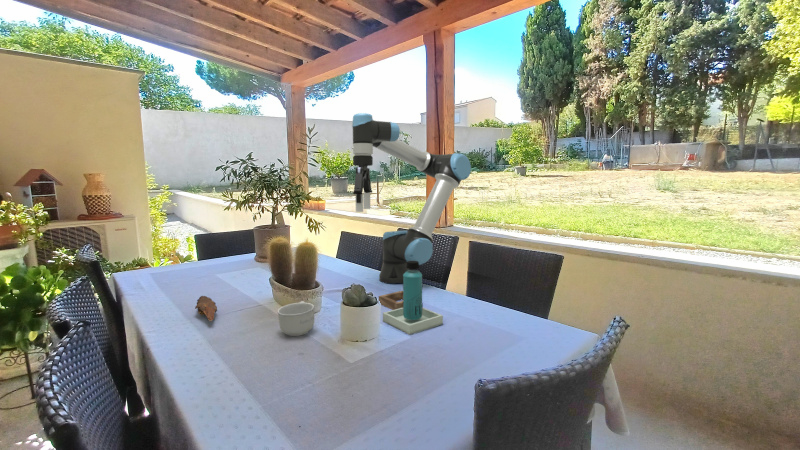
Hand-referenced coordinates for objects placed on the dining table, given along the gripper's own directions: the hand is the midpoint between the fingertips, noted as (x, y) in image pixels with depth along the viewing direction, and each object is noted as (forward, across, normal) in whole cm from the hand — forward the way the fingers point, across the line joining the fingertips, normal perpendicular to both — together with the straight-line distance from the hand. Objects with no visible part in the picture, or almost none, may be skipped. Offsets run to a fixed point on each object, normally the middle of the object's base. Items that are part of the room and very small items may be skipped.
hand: (363, 210), depth 150 cm
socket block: (+35, +8, +16) cm, 39 cm away
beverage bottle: (+34, +26, +22) cm, 48 cm away
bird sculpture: (+35, +29, -49) cm, 67 cm away
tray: (+35, +26, +22) cm, 49 cm away
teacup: (+35, +37, -13) cm, 52 cm away
